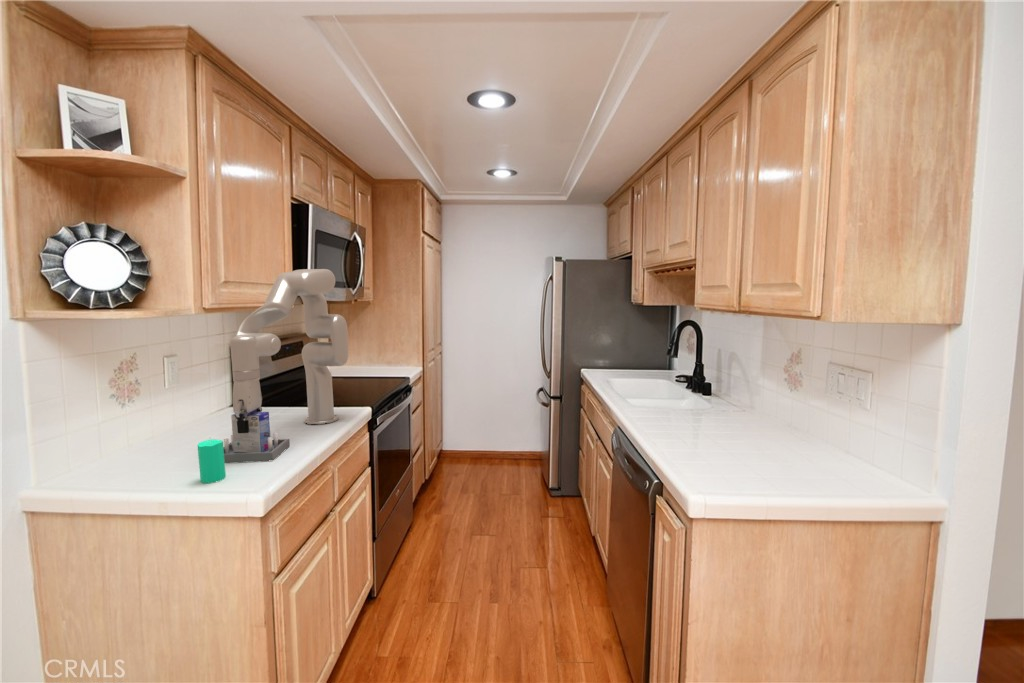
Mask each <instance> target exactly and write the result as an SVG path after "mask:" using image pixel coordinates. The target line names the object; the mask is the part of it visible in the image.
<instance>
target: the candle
mask: <svg viewBox="0 0 1024 683" xmlns="http://www.w3.org/2000/svg"><path fill="white" fill-rule="evenodd" d="M223 447H224V440H220V439H211V438H208V439H206V440H203V441H201V442H198V444H197V454H198V455H197V456H198V464H199V465H198V466H199V477H200V482H201V483H202V482H203V483H202V484H212V483H211V482H214V483H217V482H216V481H218V482H221V481H222V479H223V480H224V478H225V479H226V477H227V475H226V463H225V461H224V449H223ZM220 480H221V481H220Z"/></svg>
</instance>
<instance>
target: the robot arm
mask: <svg viewBox="0 0 1024 683" xmlns="http://www.w3.org/2000/svg"><path fill="white" fill-rule="evenodd" d="M335 285H336V276H335V274H334V273H333V271H332V270H330V269H327V268H320V269H319V268H310V269H309V268H306V269H305V268H303V269H295V270H292V271H284V272H281V273H280V274H278V276H277V277H276V279H275V281H274V283H273V285H272V287H271V289H270V291H269V294H268V295H267V297H266V300H265V302H264V304H263V305H261V306H260V307H258V308H257V309H255V310H254V311H253V312H251V313H250V314H249V315H248V316H246V318H245V319H243V321H242V322H241V323H240V325H239V327H238V329H237V330H236V332H235V336H234V337H231V338H230V340H229V341H230V342H229V345H230V347H229V348H230V356H231V368H232V379H233V380H232V381H233V384H232V386H233V387H232V408H233V410H232V411H233V413H234V414H235V417H236V421H237V429H238V433H249V421H248V420H247V417H248V413H250V412H252V411H254V410H255V409H257V412H263V408H262V407H263V396H262V391H261V384H260V380H261V370H260V358H259V357H270V356H274V355H276V354H277V353H278V352H279V351H280V350H281V348H282V347H281V346H282V341H281V338H280V337H278V335H276V334H273V333H271V332H269V333H268V332H260V331H261V330H263V329H264V328H265V327H268V326H269V325H271V324H275V323H277V322H280V321H281V320H283V319H286V318H288V317H289V316H290V314H291V311H292V309H293V306H294V305H295V302H296V300H297V298H298V297H300V298H301V301H302V304H303V314H304V315H303V316H304V331H305V334H306V335H307V337H309V338H310V339H330V341H313V342H312V341H311V342H307V344H305V345H303V347H302V349H301V358H302V362H303V366H304V370H305V380H306V381H305V382H306V397H307V398H306V399H307V400H306V401H307V414H308V416H307V417H306V418H304V420H303V421H304V424H306V423H307V424H306V425H311V424H318V425H325V423H327V424H330V423H331V424H332V423H334V422H336V421H338V419H339V415H337V414H335V412H334V393H333V392H334V390H333V376H332V373H331V371H330V369H329V368H328V367H343V366H344V365H346V363H347V362H348V359H349V333H348V324H347V321H346V319H345V317H344V316H343V315H341V314H338V313H329V312H328V304H327V303H328V302H327V299H326V297H325V295H324V294H325V293H328V292H331V291H332V290H333V289H334V287H335ZM243 414H245V415H243Z"/></svg>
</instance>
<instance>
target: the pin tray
mask: <svg viewBox="0 0 1024 683" xmlns="http://www.w3.org/2000/svg"><path fill="white" fill-rule="evenodd" d="M272 435H273V436H270V437H268V450H266V451H264V452H254V453H246V452H233V435H232V434H230V441H231V442H230V443H229V438H224V439H223V449H224V461H225V464H230V462H238V463H244V462H243V461H261V462H270V461H269V460H274V459H275V458H276V457H277V456H278V455H279V456H281V453H282V452H283V451H284V450H285V449H286V450H287V449H288V448H290V447H289V446H291V445H290V438H279V436H278V433H277V432H274V433H273V434H272ZM278 438H279V439H278ZM286 450H285V451H286ZM285 451H284V452H285ZM284 452H283V453H284ZM283 453H282V454H283ZM279 456H278V457H279ZM278 457H277V458H278ZM277 458H276V459H277ZM276 459H275V460H276ZM275 460H274V461H275Z"/></svg>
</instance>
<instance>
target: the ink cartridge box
mask: <svg viewBox="0 0 1024 683" xmlns="http://www.w3.org/2000/svg"><path fill="white" fill-rule="evenodd" d="M243 415H245V414H243ZM230 417H231V430H232V431H231V433H232V434H231V435H233V452H246V453H254V452H264V451H266V450H268V437H271V427H270V424H271V423H270V411H262V412H257V409H255V410H254V411H252V412H250V413H248V417H247V420H248V421H249V433H238V429H237V421H236V417H235V413H234V414H232V415H231V416H230Z"/></svg>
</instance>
